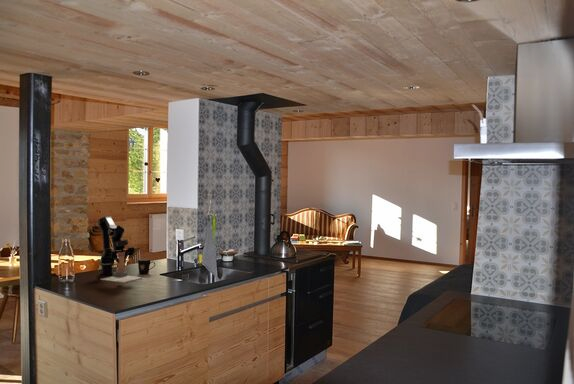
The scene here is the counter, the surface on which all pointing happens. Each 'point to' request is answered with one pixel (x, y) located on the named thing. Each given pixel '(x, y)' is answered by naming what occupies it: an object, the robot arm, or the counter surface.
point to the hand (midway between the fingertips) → (121, 262)
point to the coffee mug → (144, 266)
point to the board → (121, 278)
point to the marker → (121, 262)
